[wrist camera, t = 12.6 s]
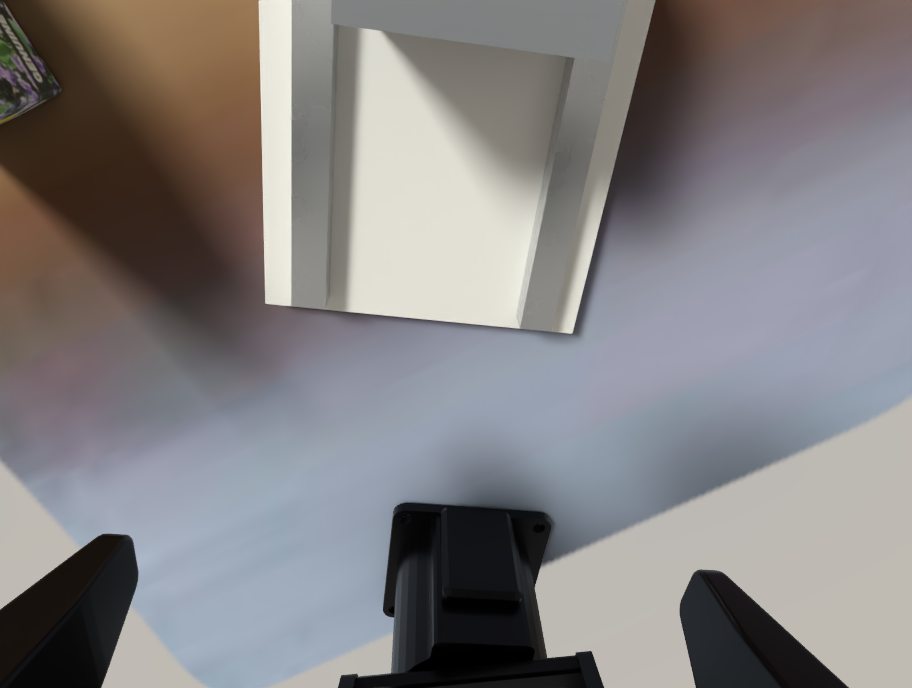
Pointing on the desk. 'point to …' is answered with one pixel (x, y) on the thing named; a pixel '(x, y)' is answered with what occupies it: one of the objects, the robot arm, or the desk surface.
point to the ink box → (21, 71)
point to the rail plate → (435, 169)
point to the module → (496, 23)
